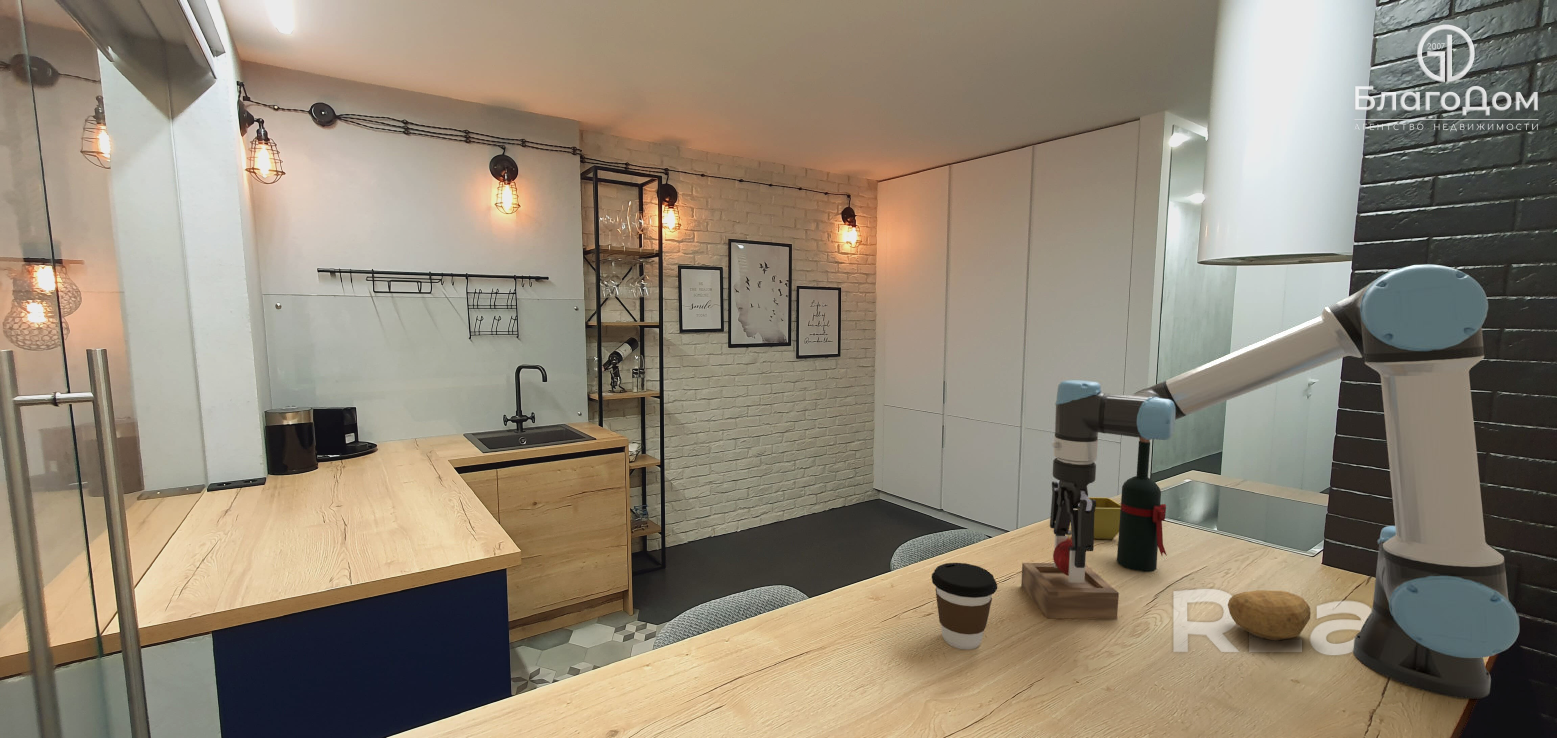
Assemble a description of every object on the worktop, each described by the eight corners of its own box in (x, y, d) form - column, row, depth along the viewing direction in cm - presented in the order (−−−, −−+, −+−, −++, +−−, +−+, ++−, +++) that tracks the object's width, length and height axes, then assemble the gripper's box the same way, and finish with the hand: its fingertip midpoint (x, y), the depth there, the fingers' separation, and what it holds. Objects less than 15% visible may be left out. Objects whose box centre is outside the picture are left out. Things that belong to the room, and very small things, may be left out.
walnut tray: (1117, 619, 112) (1118, 592, 112) (1047, 617, 113) (1048, 591, 112) (1083, 587, 125) (1085, 563, 125) (1021, 586, 126) (1022, 562, 125)
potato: (1329, 646, 104) (1333, 602, 103) (1262, 654, 101) (1266, 608, 101) (1273, 618, 114) (1276, 577, 113) (1211, 624, 111) (1214, 583, 110)
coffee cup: (916, 631, 108) (918, 566, 106) (964, 619, 112) (967, 557, 111) (957, 663, 98) (960, 593, 96) (1008, 649, 102) (1011, 581, 101)
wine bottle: (1151, 578, 130) (1160, 443, 127) (1108, 560, 139) (1116, 434, 137) (1174, 572, 133) (1184, 440, 131) (1131, 555, 143) (1139, 431, 140)
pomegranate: (1082, 584, 114) (1085, 544, 114) (1050, 577, 118) (1052, 537, 117) (1085, 573, 119) (1088, 534, 119) (1054, 567, 122) (1056, 529, 122)
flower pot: (1125, 542, 151) (1127, 507, 150) (1090, 542, 151) (1092, 507, 150) (1106, 530, 160) (1108, 497, 159) (1073, 529, 160) (1075, 496, 159)
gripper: (1035, 448, 126) (1030, 554, 128) (1078, 472, 107) (1071, 596, 109) (1071, 449, 126) (1065, 555, 128) (1120, 472, 107) (1112, 596, 109)
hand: (1068, 574), depth 118 cm, fingers closed on pomegranate, 6 cm apart
